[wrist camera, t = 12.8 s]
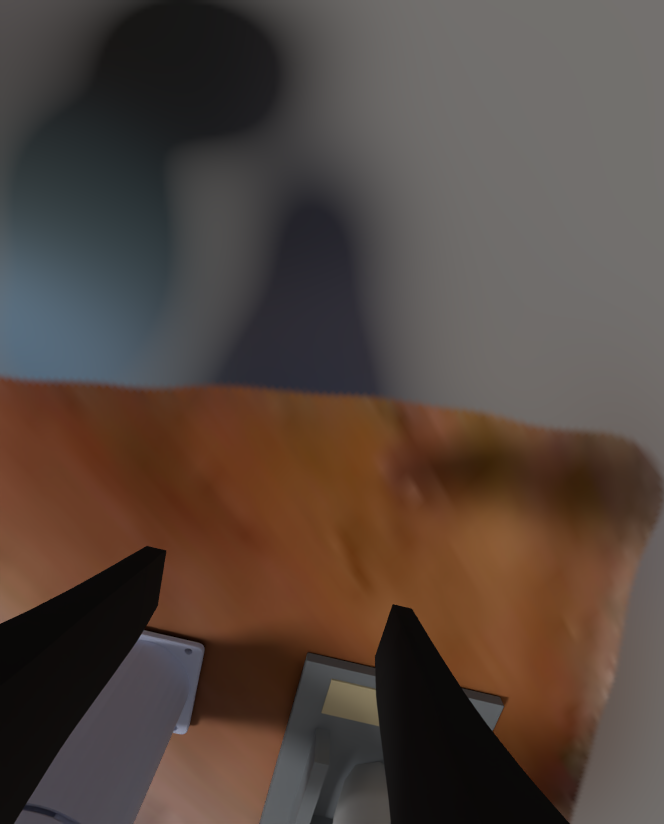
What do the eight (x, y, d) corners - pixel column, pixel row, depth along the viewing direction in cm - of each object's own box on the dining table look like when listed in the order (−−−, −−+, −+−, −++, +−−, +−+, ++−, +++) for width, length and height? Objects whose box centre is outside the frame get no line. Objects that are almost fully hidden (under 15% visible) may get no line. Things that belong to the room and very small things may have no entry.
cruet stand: (257, 828, 27) (249, 879, 24) (307, 652, 23) (303, 690, 21) (424, 865, 27) (432, 918, 25) (499, 697, 23) (519, 740, 21)
